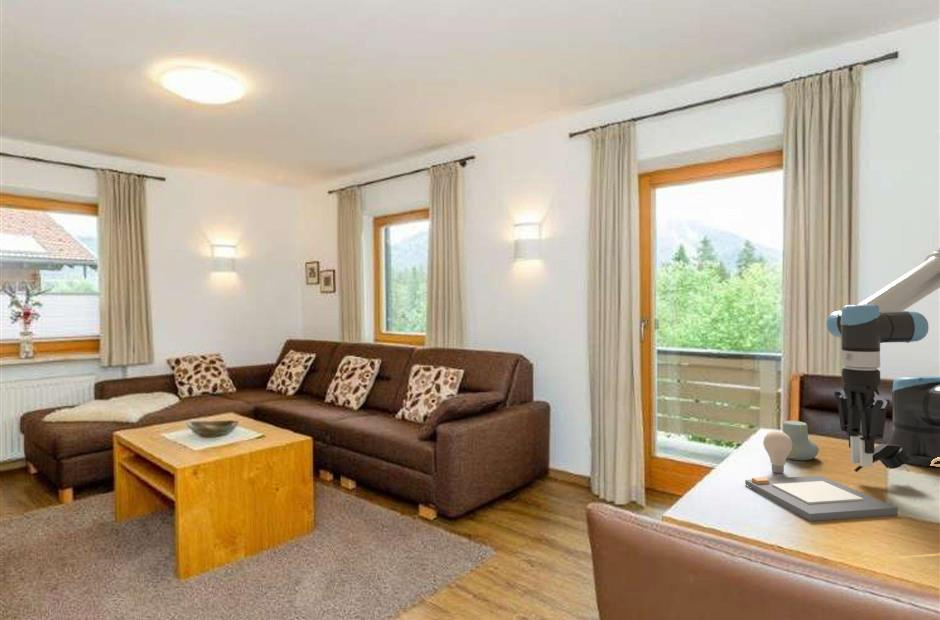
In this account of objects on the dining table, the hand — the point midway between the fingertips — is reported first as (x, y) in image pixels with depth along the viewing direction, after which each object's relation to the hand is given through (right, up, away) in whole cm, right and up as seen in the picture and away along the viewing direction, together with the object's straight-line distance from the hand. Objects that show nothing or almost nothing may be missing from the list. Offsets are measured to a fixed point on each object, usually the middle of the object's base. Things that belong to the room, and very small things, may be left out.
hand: (861, 464), depth 126 cm
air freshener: (-4, -4, +20) cm, 21 cm away
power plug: (0, -4, 0) cm, 4 cm away
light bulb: (-16, -5, +7) cm, 18 cm away
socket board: (-18, -5, -10) cm, 21 cm away
